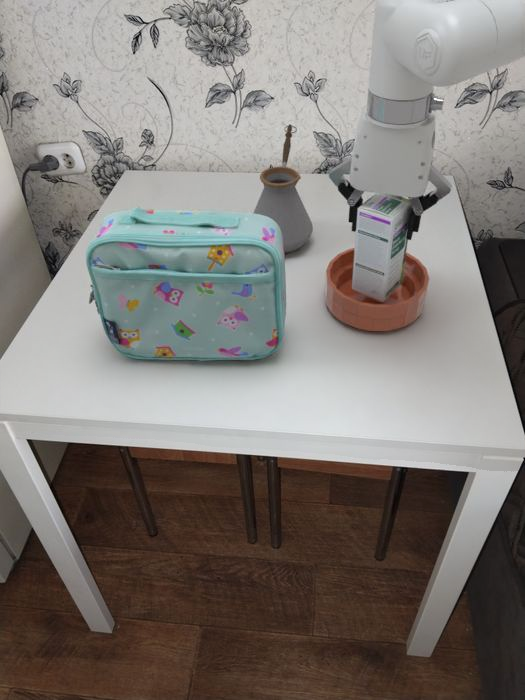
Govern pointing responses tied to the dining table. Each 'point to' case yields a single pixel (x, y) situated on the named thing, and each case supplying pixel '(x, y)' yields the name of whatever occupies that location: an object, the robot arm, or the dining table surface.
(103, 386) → the dining table surface
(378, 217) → the syrup box
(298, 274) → the dining table surface
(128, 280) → the lunch box
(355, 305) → the bowl
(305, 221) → the coffee pot
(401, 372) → the dining table surface
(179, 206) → the dining table surface
